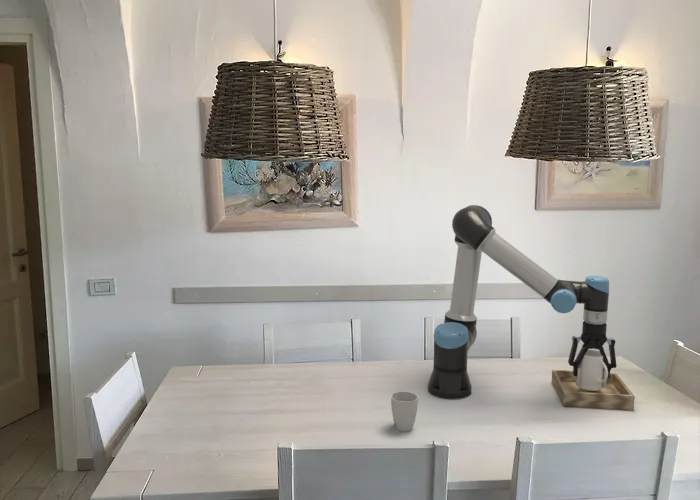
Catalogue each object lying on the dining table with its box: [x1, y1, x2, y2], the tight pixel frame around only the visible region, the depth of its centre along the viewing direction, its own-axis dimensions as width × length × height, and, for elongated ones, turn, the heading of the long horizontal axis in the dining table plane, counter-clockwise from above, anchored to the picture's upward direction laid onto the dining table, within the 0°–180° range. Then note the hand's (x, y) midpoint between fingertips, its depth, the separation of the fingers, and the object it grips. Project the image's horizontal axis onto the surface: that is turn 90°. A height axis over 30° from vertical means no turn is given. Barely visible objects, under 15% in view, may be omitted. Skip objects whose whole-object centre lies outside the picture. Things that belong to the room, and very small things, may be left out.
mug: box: [578, 349, 608, 391], centre depth 208 cm, size 12×8×12 cm
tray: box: [550, 369, 636, 412], centre depth 209 cm, size 22×22×5 cm
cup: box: [390, 390, 419, 432], centre depth 183 cm, size 8×8×10 cm
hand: (590, 385), depth 209 cm, fingers closed on mug, 8 cm apart
